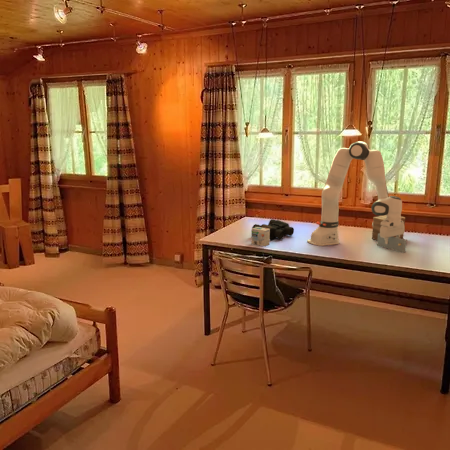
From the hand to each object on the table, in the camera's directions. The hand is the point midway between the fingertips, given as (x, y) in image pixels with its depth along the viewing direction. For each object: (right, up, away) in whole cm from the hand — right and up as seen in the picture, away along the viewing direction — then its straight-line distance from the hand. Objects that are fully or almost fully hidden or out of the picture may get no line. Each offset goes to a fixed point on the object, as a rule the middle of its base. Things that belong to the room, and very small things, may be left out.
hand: (391, 242), depth 284 cm
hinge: (+8, +6, +46) cm, 47 cm away
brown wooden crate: (+7, +2, +24) cm, 25 cm away
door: (0, -4, +1) cm, 4 cm away
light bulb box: (-83, -2, +12) cm, 84 cm away
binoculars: (-72, +3, +33) cm, 79 cm away
